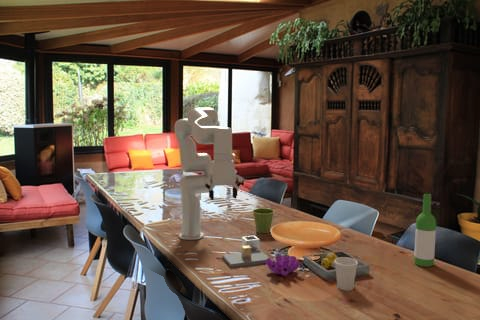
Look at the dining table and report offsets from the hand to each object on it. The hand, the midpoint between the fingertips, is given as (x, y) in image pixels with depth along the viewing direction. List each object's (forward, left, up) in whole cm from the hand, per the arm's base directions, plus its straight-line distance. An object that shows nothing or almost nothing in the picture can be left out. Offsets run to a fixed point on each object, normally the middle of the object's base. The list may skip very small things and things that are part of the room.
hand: (223, 198), depth 177 cm
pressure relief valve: (+20, +42, -29) cm, 55 cm away
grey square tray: (+20, +42, -28) cm, 54 cm away
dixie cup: (+37, +36, -28) cm, 59 cm away
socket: (-12, +17, -28) cm, 35 cm away
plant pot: (-38, +34, -28) cm, 58 cm away
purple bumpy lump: (+17, +20, -29) cm, 38 cm away
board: (-1, +11, -28) cm, 30 cm away
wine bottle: (+28, +80, -28) cm, 89 cm away
